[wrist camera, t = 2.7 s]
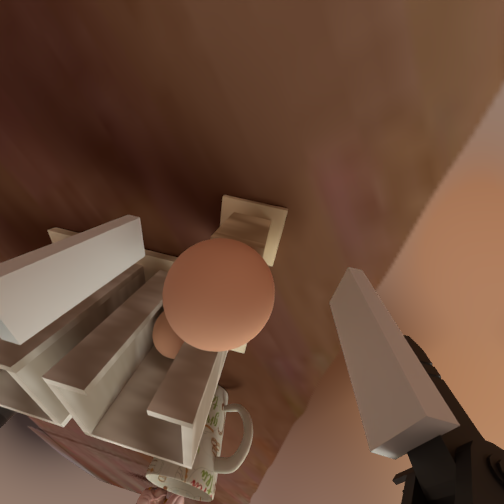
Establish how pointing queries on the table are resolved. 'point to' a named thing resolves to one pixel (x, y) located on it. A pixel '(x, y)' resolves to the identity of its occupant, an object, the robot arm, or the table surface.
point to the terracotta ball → (218, 294)
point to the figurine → (159, 497)
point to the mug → (205, 455)
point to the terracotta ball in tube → (166, 338)
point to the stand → (252, 225)
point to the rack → (115, 369)
